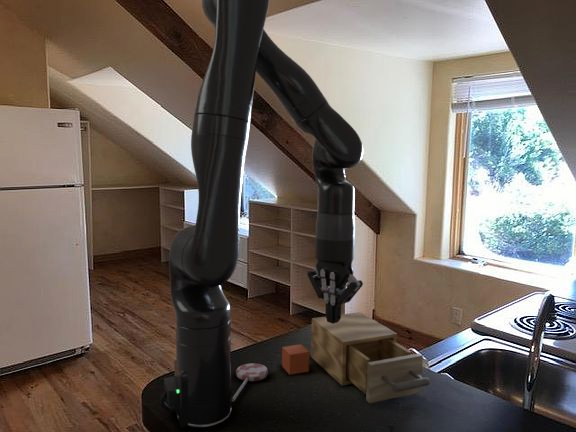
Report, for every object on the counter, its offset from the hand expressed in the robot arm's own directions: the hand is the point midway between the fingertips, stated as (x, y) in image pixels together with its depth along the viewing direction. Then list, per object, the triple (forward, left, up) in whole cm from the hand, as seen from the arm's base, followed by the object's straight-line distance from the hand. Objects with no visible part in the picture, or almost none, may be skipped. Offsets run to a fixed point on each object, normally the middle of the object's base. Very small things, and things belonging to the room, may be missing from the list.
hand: (332, 321), depth 95 cm
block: (-4, +8, -13) cm, 16 cm away
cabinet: (+8, +5, -13) cm, 16 cm away
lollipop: (-16, +5, -13) cm, 21 cm away
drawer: (+8, -7, -12) cm, 16 cm away
